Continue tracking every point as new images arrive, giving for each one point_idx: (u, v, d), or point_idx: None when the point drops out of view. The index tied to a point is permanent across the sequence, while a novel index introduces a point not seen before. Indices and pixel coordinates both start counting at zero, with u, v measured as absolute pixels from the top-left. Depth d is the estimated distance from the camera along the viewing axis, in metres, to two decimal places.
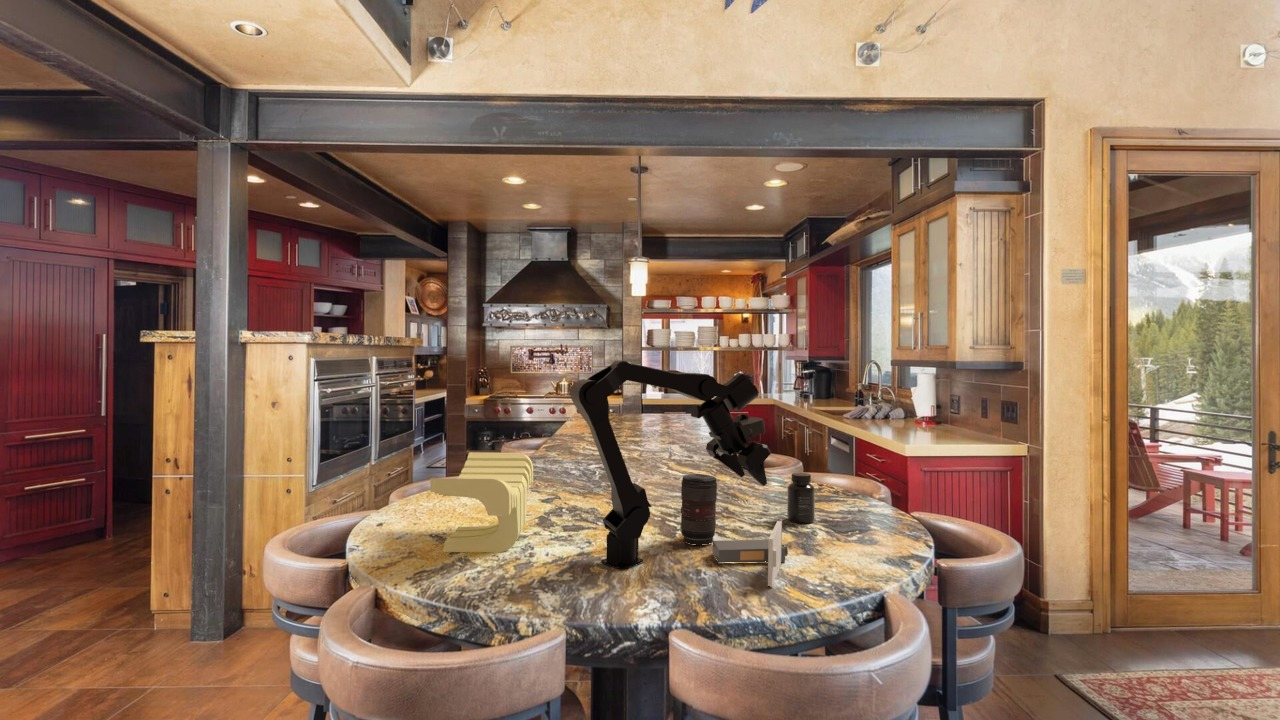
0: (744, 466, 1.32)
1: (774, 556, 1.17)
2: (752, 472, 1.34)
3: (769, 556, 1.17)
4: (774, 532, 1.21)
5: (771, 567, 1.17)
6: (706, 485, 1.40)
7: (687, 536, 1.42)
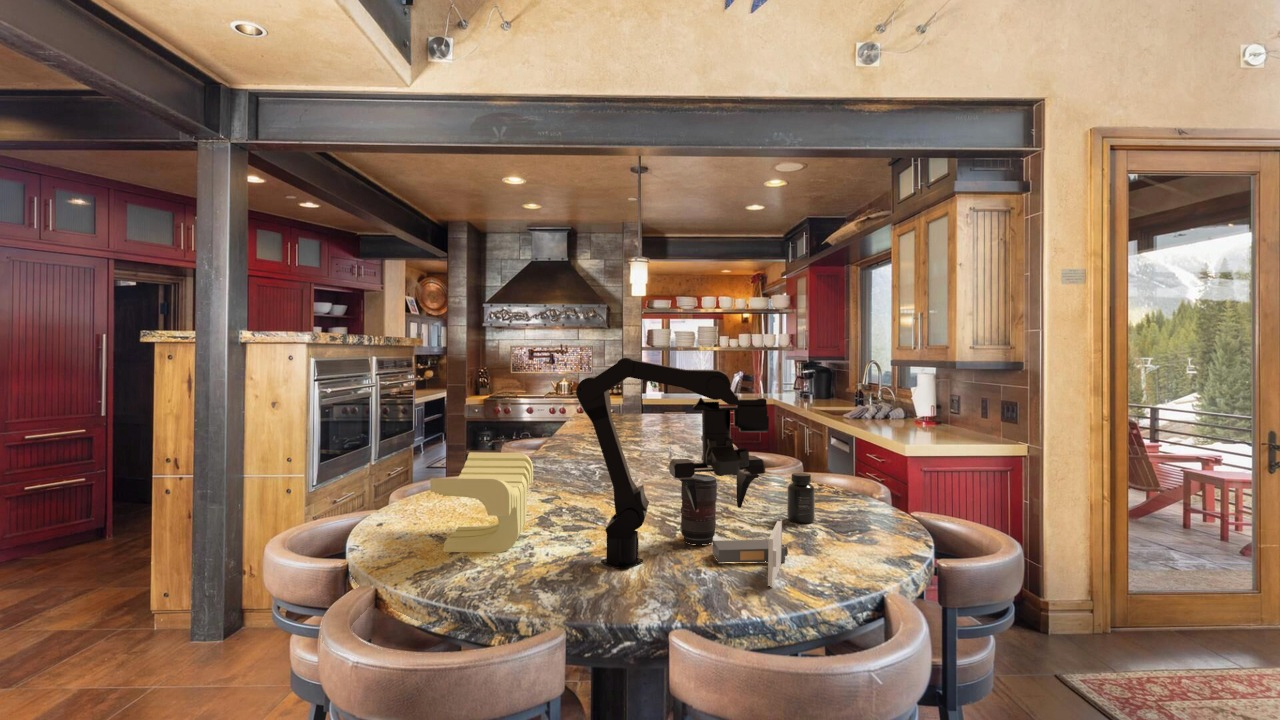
0: None
1: (774, 556, 1.17)
2: (684, 483, 1.28)
3: (769, 556, 1.17)
4: (774, 532, 1.21)
5: (771, 567, 1.17)
6: (706, 485, 1.40)
7: (687, 536, 1.42)
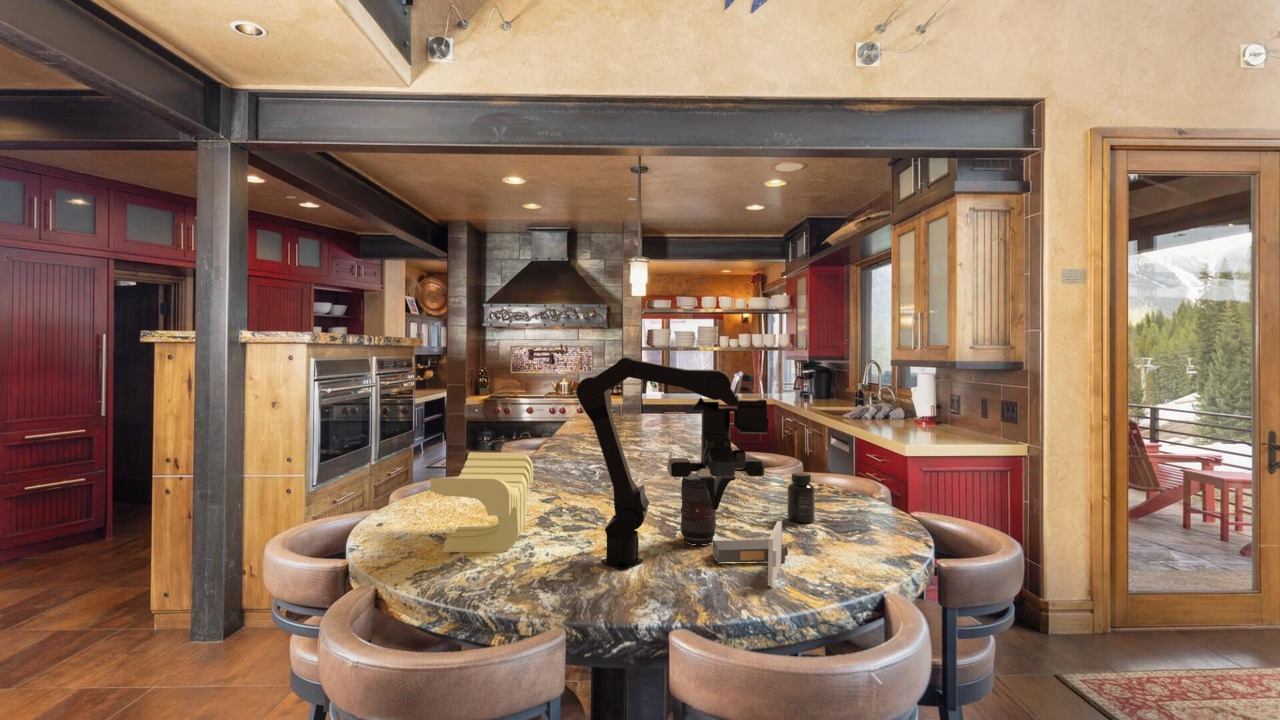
0: None
1: (774, 556, 1.17)
2: (704, 482, 1.29)
3: (769, 556, 1.17)
4: (774, 532, 1.21)
5: (771, 567, 1.17)
6: None
7: (687, 536, 1.42)
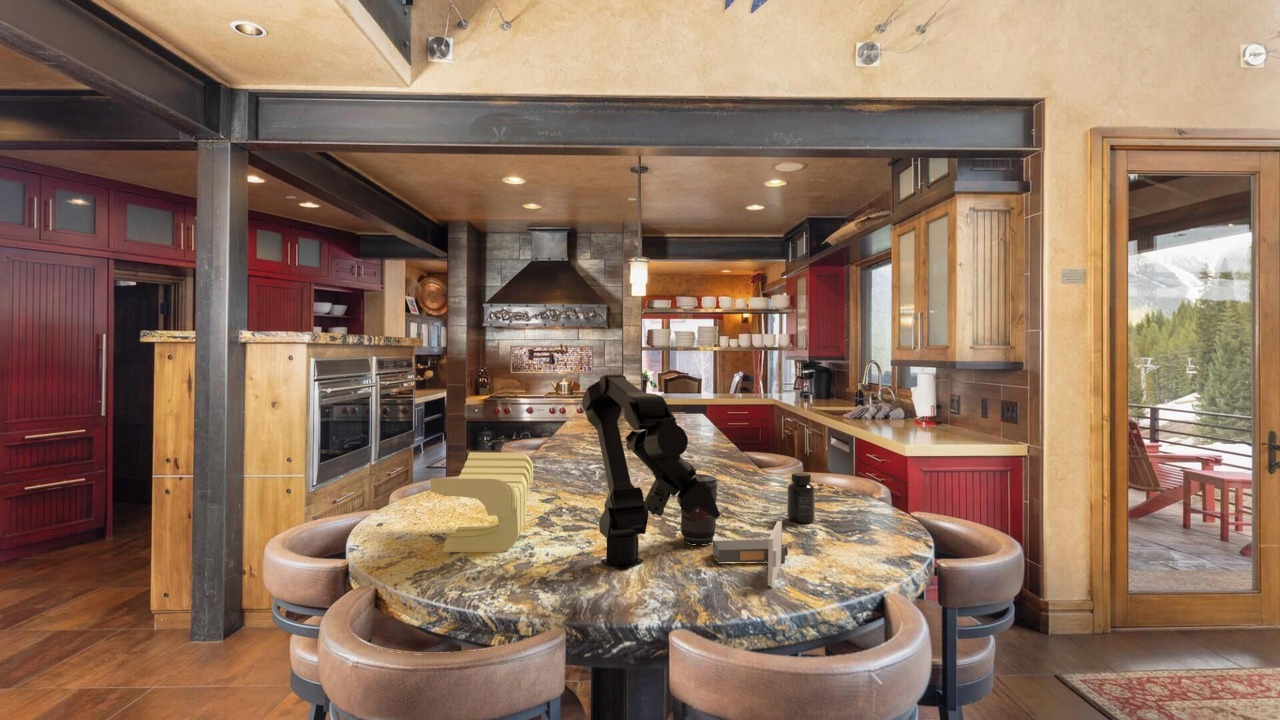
0: None
1: (774, 556, 1.17)
2: None
3: (769, 556, 1.17)
4: (774, 532, 1.21)
5: (771, 567, 1.17)
6: None
7: (687, 536, 1.42)
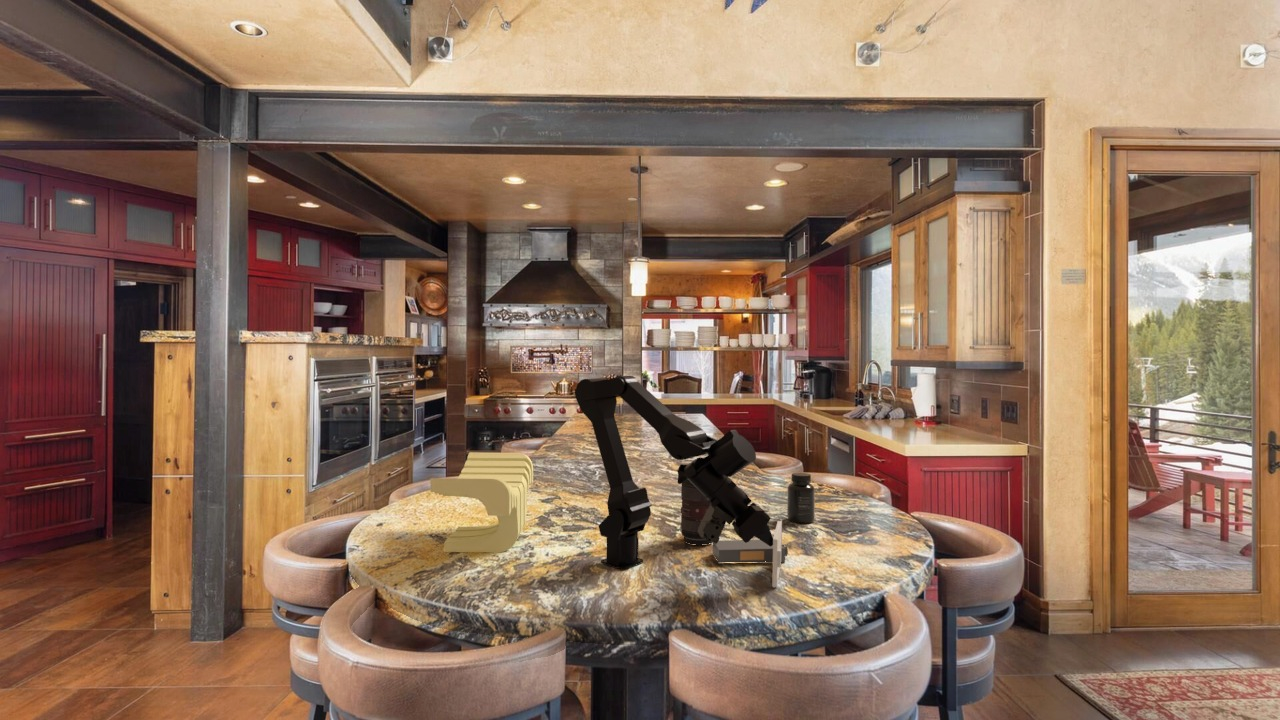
0: None
1: (778, 556, 1.17)
2: None
3: (773, 557, 1.17)
4: (777, 532, 1.21)
5: (776, 568, 1.17)
6: None
7: (687, 536, 1.42)
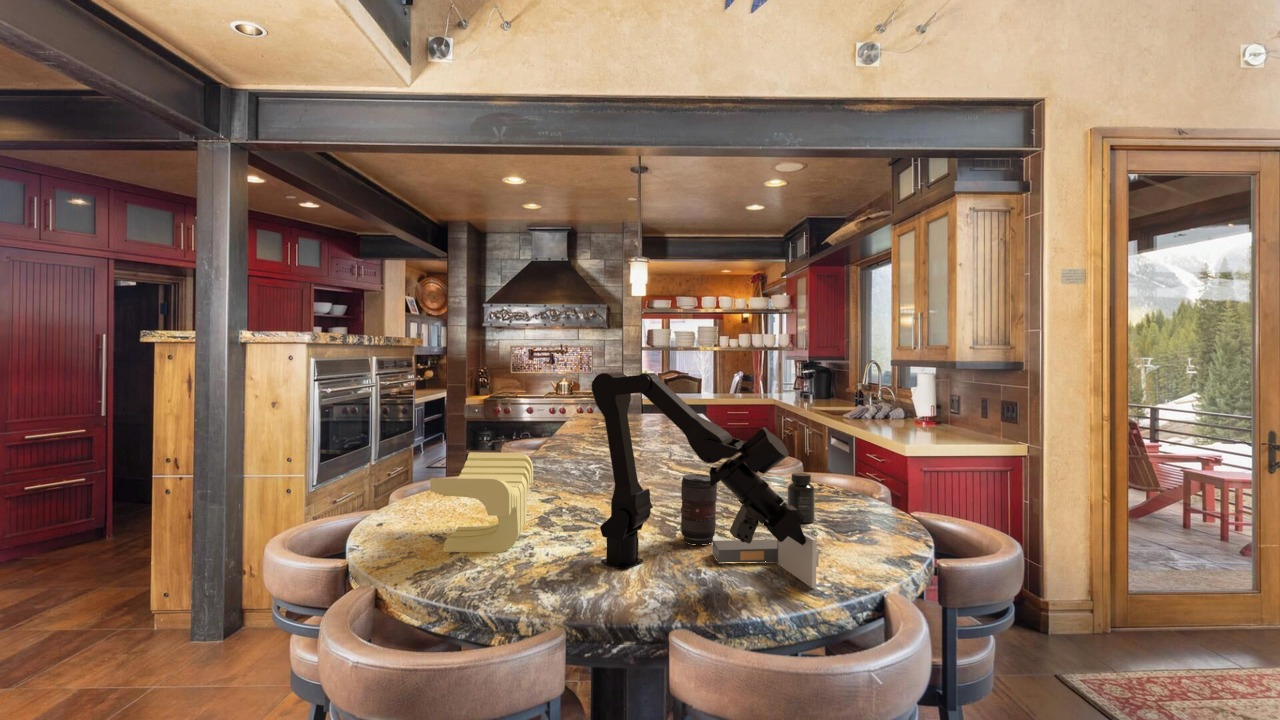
0: None
1: (817, 556, 1.17)
2: None
3: (813, 557, 1.17)
4: None
5: (815, 568, 1.17)
6: (706, 485, 1.40)
7: (687, 536, 1.42)
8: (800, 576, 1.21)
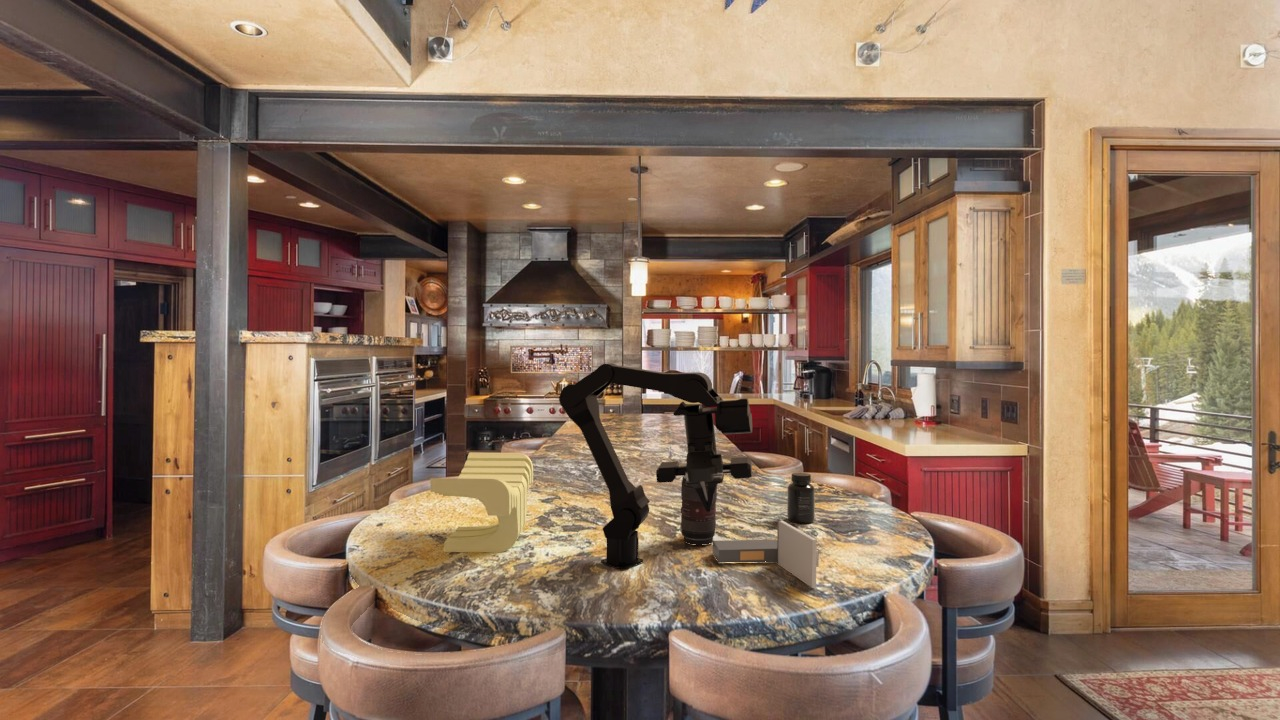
0: None
1: (817, 556, 1.17)
2: None
3: (813, 557, 1.17)
4: (802, 532, 1.21)
5: (815, 568, 1.17)
6: (706, 485, 1.40)
7: (687, 536, 1.42)
8: (800, 576, 1.21)
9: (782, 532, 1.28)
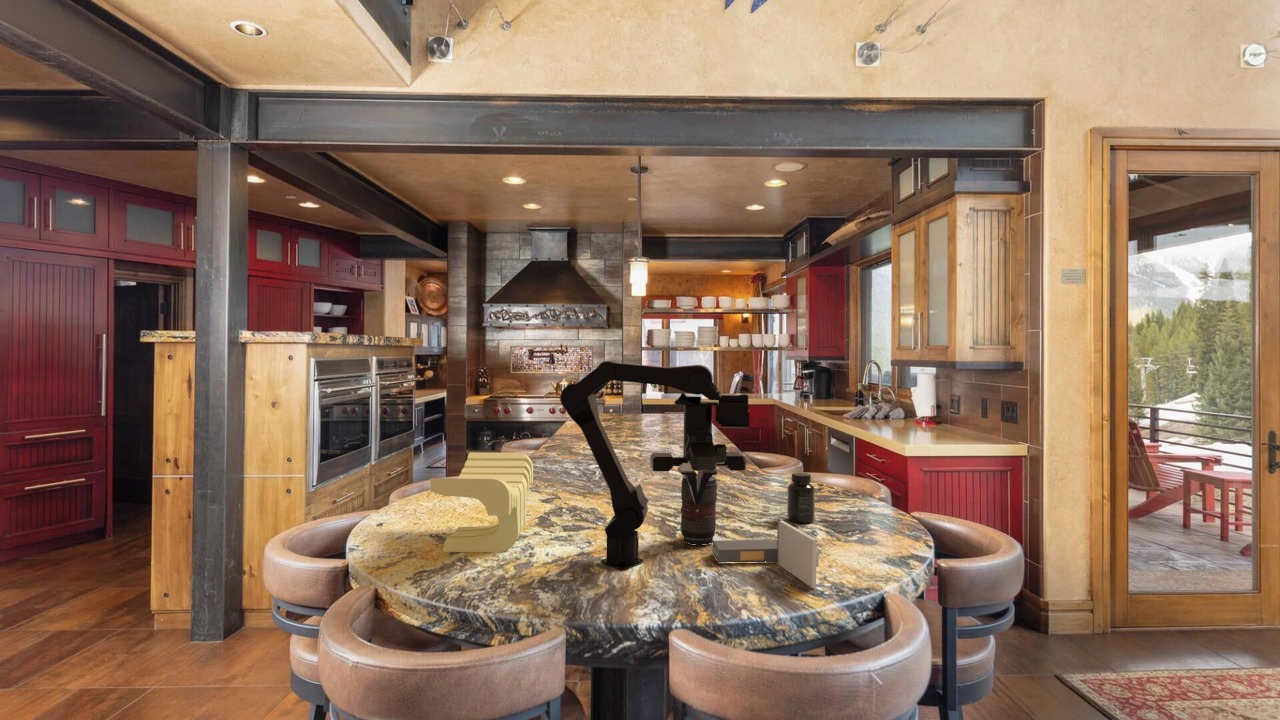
0: None
1: (817, 556, 1.17)
2: (686, 477, 1.29)
3: (813, 557, 1.17)
4: (802, 532, 1.21)
5: (815, 568, 1.17)
6: (706, 485, 1.40)
7: (687, 536, 1.42)
8: (800, 576, 1.21)
9: (782, 532, 1.28)
